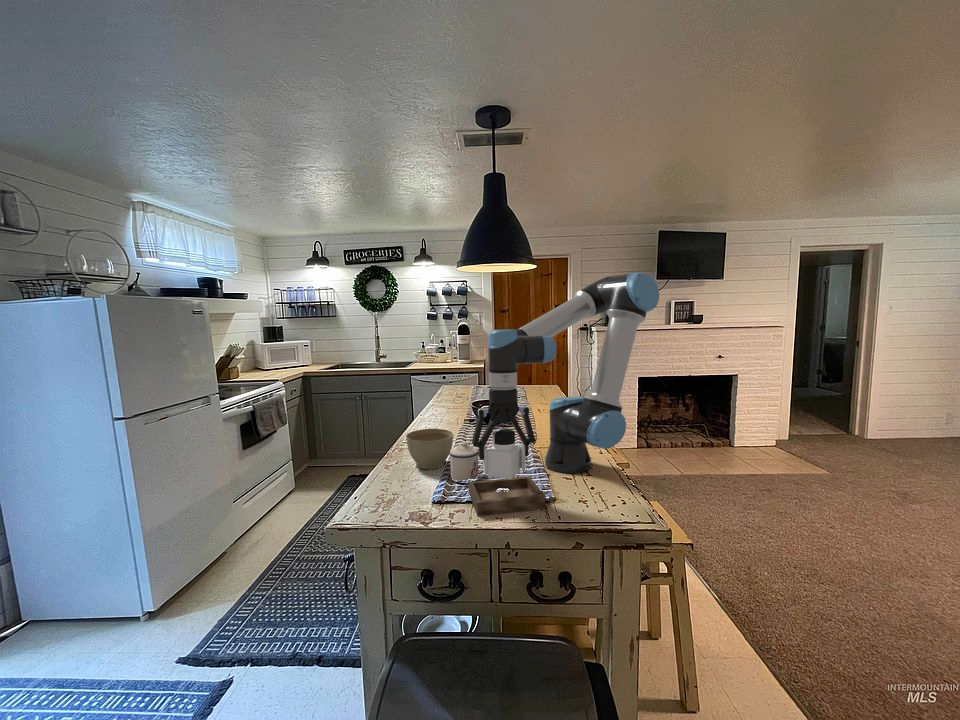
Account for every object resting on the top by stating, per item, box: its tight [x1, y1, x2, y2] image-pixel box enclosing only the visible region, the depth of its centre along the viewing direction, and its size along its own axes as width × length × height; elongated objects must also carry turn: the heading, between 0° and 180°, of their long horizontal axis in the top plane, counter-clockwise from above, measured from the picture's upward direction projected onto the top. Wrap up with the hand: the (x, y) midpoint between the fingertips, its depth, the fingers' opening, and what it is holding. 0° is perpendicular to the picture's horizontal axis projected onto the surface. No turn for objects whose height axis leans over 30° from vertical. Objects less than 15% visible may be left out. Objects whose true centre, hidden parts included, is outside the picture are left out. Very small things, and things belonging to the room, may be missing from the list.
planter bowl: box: [405, 428, 454, 470], centre depth 144 cm, size 16×16×11 cm
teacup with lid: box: [449, 441, 479, 480], centre depth 132 cm, size 12×9×12 cm
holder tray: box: [468, 476, 546, 517], centre depth 115 cm, size 18×14×4 cm
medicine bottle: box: [486, 427, 521, 479], centre depth 113 cm, size 7×7×12 cm
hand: (503, 469), depth 114 cm, fingers closed on medicine bottle, 10 cm apart
